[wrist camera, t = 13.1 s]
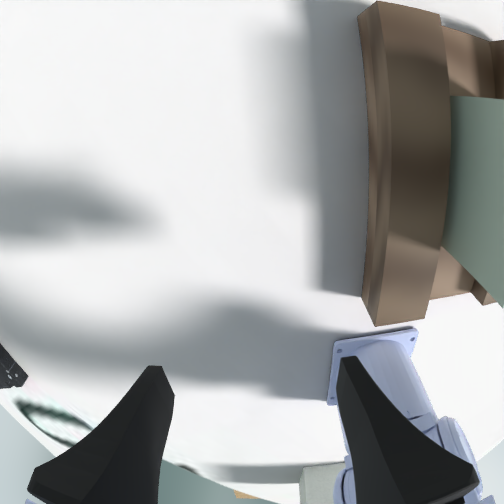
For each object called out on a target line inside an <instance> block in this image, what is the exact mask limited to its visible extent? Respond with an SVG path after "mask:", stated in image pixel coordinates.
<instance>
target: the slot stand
mask: <svg viewBox="0 0 504 504" xmlns="http://www.w3.org/2000/svg"><path fill="white" fill-rule="evenodd" d="M357 20H358V26H359V33H360V40H361V47H362V55H363V64H364V74H365V85H366V97H367V113H368V136H369V203H368V226H367V243H366V256H365V268H364V279H363V288H362V297H361V298H362V300H363V302H364V304H365V306H366V309H367V311H368V313H369V315H370V317H371V319H372V322H373V324H374V326H375V327H377V326H384V325H390V324H396V323H402V322H408V321H413V320H419V319H424V318H425V314H426V311H427V307H428V303H429V300H432V299H438V298H443V297H449V296H454V295H459V294H464V293H469V292H471V293H472V294H473V295H474V296H475V298H476V299H477V300H478V301H479V302H480V303H481V304H482V306H484V305H488V304H491V303H495V302H497V301H496V300H495V299H494V298H493V297H492V296H491V295H490V294H489V293H488V292H487V291H486V289H485V288H484V287H483V286H482V285H481V284H480V283H479V282H478V281H477V280H476V279H475V278H474V277H473V276H472V275H471V274H470V273H469V272H468V271H467V270H466V269H465V268H464V267H463V266H462V265H461V264H460V263H459V262H458V261H457V260H456V259H455V258H454V257H453V256H452V255H451V254H450V253H448V252H447V251H446V250H445V249H444V248H443V247H442V246H441V242H442V236H443V229H444V222H445V215H446V206H447V197H448V187H449V173H450V154H451V108H450V96H467V97H482V98H493V99H502V100H504V40H499V41H491V42H489V41H486V40H484V39H481V38H478V37H476V36H473V35H470V34H467V33H464V32H461V31H458V30H455V29H451V28H448V27H445V26H442V25H441V20H440V15H439V14H436V13H433V12H429V11H425V10H421V9H417V8H413V7H408V6H404V5H399V4H394V3H388V2H382V1H376V2H375V3H373V4H372V5H371V6H370V7H368V8H367V9H366V10H365V11H364V12H362V13H361V14H360V15H359V16H358V17H357Z"/></svg>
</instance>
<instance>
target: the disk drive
mask: <svg viewBox="0 0 504 504" xmlns="http://www.w3.org/2000/svg"><path fill="white" fill-rule="evenodd" d="M27 378H28V375H27V374H26V373H25V372H24V371H23V369H22V368H21V367H20V366H19V365H18V364H17V362H15V361H14V359H13V358H12V357H11V356H10V355H9V353H8V352H7V351H6V350H5V349H4V347H3V346H2V345H1V344H0V389H2V388H11V387H12V386H15V387H22V386H23V384H24V383H25V381H26V380H27Z"/></svg>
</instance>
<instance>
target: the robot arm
mask: <svg viewBox="0 0 504 504" xmlns="http://www.w3.org/2000/svg"><path fill="white" fill-rule="evenodd" d="M418 333H419V332H418V330H417V329H416V328H414V329H408V330H403V331H397V332H391V333H385V334H379V335H373V336H366V337H359V338H352V339H345V340H339V341H336V342H335V343H334V347H333V357H332V365H331V374H330V382H329V389H328V396H327V405H329V406H333V405H337V408H338V413H339V418H340V423H341V428H342V433H343V438H344V443H345V448H346V451H347V453H348V454H349V455H347V456H345V457H344V460H345V466H346V468H344V469H342V470H341V471H340V472H339V473H338V475H337V477H336V480H335V484H334V488H333V502H334V504H495V501H494V498H493V496H492V495H490V496H488V497H487V498H485V499H483V500H481V494H482V491H483V486H482V480H481V477H480V474H479V472H478V468H477V464H476V461H475V458H474V455H473V452H472V450H471V447H470V445H469V443H468V441H467V438H466V436H465V434H464V432H463V430H462V429H461V427H460V425H459V424H458V422H457V421H456V420H455V419H454V418H448V417H447V416H444V417H442V418H441V419H438V418H437V416H436V414H435V411H434V409H433V406H432V404H431V402H430V399H429V397H428V395H427V393H426V390H425V388H424V386H423V384H422V382H421V379H420V377H419V375H418V373H417V371H416V369H415V366H414V364H413V362H412V360H411V355H412V352H413V349H414V346H415V343H416V340H417V337H418ZM339 349H340V350H339ZM174 397H175V395H174V393H173V391H172V388H171V386H170V384H169V382H168V380H167V377H166V375H165V373H164V371H163V368H162V366H148V367H147V368H146V369H145V370H144V371H143V373H142V374H141V375H140V377H139V378H138V379H137V381H136V382H135V383H134V384H133V386H132V387H131V388H130V390H129V391H128V392H127V393H126V395H125V396H124V397H123V398H122V399H121V401H120V402H119V403H118V404H117V406H116V407H115V408H114V409H113V410H112V411H111V412H110V413H109V414H108V416H107V417H106V418H105V419H104V420H103V421H102V422H101V423H100V424H99V425H98V426H97V427H96V428H95V429H94V430H93V431H91V432H90V433H89V434H88V435H87V436H86V437H84V438H83V439H82V440H81V441H79V442H78V443H77V444H76V445H74V446H73V447H72V448H70V449H69V450H67V451H66V452H64V453H62V454H61V455H59V456H58V457H56V458H54V459H52V460H50V461H49V462H46V463H44V464H42V465H40V466H38V467H36V468H35V469H34V472H33V474H32V477H31V480H30V482H29V485H28V488H27V490H28V492H29V493H31V494H32V495H33V496H35V497H37V498H38V499H40V500H41V501H43V502H45V503H46V504H158V486H159V485H158V484H159V475H160V466H161V461H162V456H163V452H164V448H165V444H166V440H167V436H168V432H169V428H170V424H171V420H172V414H173V407H174ZM25 504H36V503H34V502H32V501H30V500H29V499H27V500H26V502H25Z"/></svg>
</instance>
